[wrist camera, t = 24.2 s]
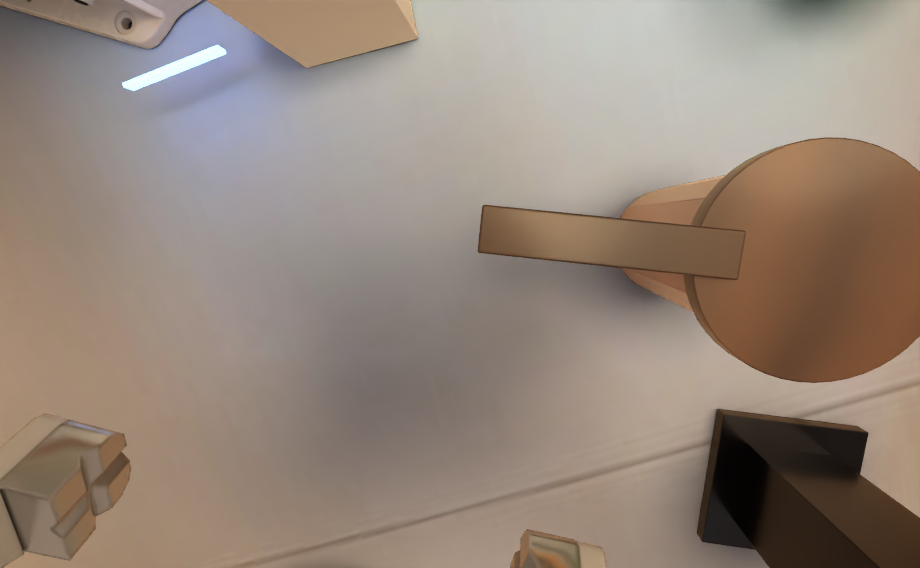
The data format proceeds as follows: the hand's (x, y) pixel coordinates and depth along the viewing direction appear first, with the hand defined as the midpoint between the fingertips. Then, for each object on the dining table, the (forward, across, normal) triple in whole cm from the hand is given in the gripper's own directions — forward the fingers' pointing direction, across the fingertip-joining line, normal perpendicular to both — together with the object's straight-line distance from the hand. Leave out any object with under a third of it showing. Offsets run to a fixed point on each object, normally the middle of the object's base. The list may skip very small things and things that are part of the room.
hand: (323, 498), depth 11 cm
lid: (+13, -10, -2) cm, 17 cm away
